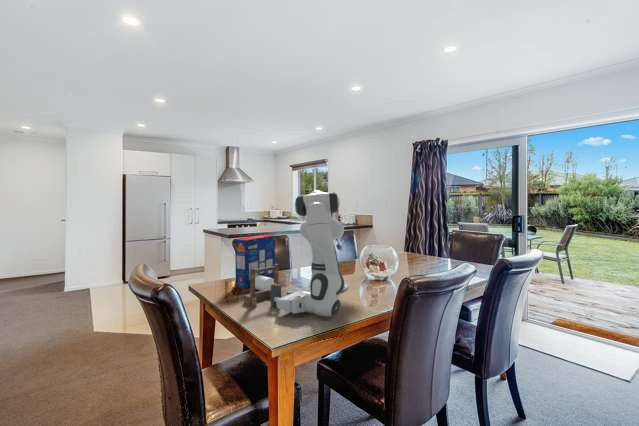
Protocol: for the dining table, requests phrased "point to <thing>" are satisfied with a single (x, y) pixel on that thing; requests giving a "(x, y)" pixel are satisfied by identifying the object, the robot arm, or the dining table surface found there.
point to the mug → (263, 282)
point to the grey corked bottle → (275, 294)
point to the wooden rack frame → (256, 296)
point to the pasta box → (253, 257)
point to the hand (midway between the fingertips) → (281, 296)
